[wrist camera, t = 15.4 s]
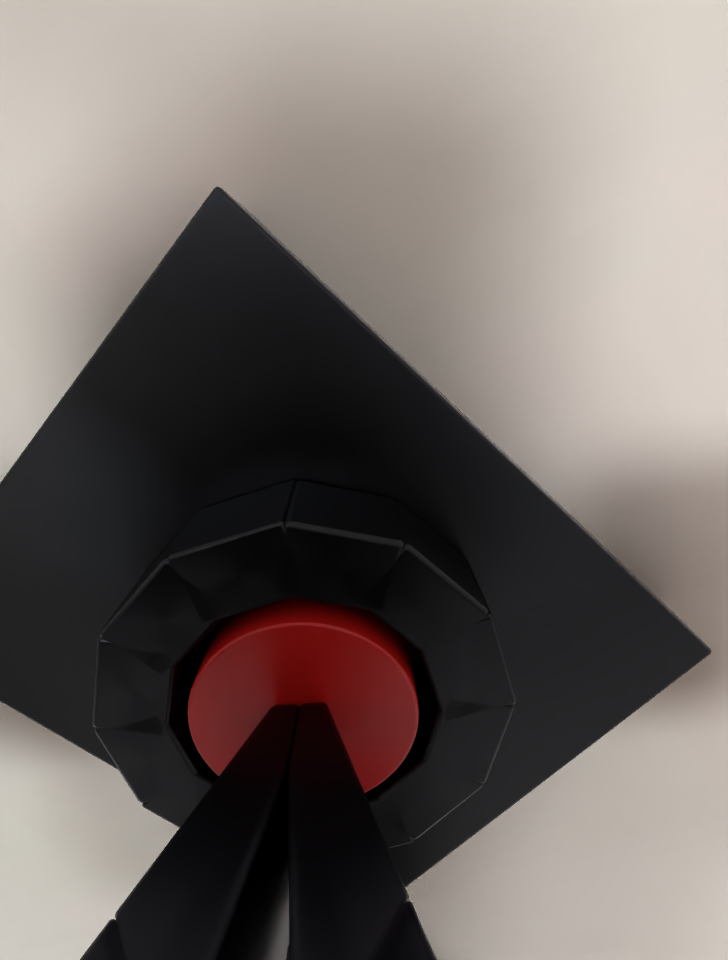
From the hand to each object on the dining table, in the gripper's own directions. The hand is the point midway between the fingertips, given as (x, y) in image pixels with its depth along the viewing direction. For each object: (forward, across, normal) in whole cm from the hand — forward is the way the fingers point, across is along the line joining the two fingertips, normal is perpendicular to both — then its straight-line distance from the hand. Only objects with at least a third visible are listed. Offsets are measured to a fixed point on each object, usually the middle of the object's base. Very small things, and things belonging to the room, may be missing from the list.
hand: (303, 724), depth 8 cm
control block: (+4, 0, 0) cm, 4 cm away
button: (+2, 0, 0) cm, 2 cm away
